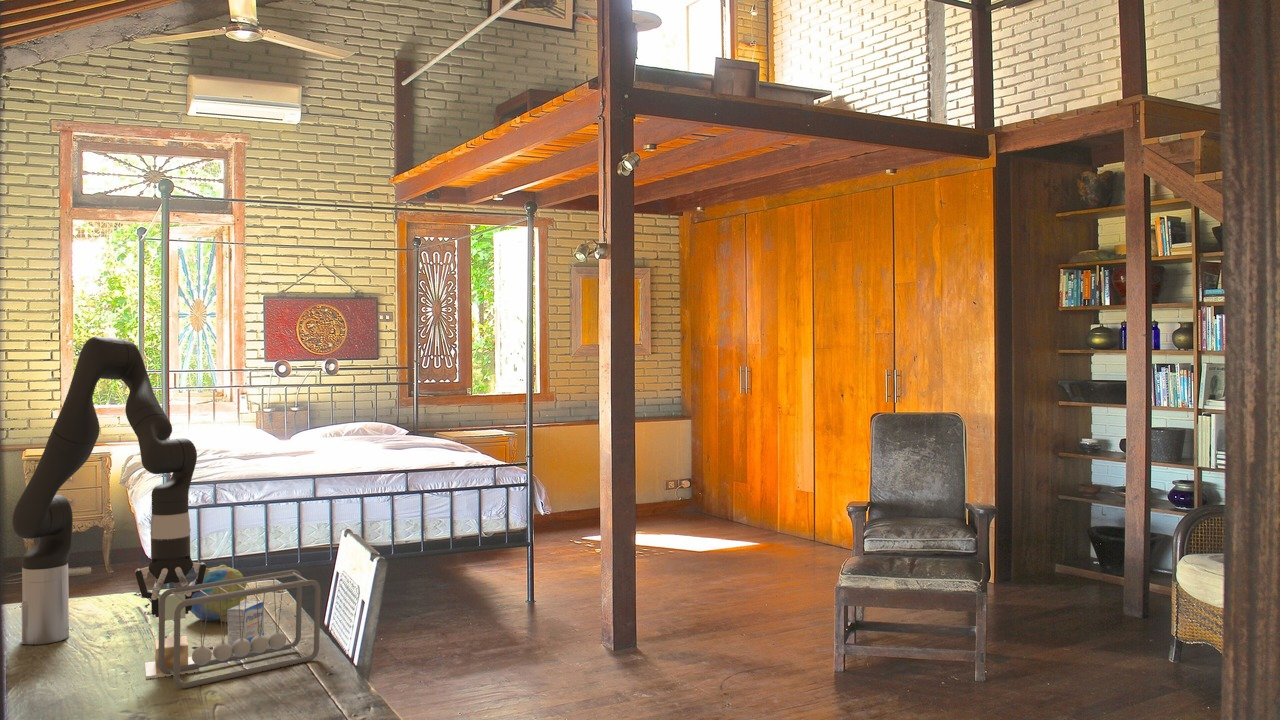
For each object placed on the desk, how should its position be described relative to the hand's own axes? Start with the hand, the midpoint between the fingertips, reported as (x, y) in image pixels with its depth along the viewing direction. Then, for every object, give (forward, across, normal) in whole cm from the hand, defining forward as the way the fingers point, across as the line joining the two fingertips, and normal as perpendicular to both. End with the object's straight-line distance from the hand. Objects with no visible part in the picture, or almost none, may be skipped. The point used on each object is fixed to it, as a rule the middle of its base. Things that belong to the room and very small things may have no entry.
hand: (171, 614), depth 213 cm
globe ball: (+12, -13, -37) cm, 41 cm away
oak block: (+11, 0, 0) cm, 11 cm away
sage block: (0, 0, 0) cm, 0 cm away
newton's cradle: (+11, -13, +7) cm, 18 cm away
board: (+11, 0, 0) cm, 11 cm away
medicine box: (+12, -16, -13) cm, 24 cm away
